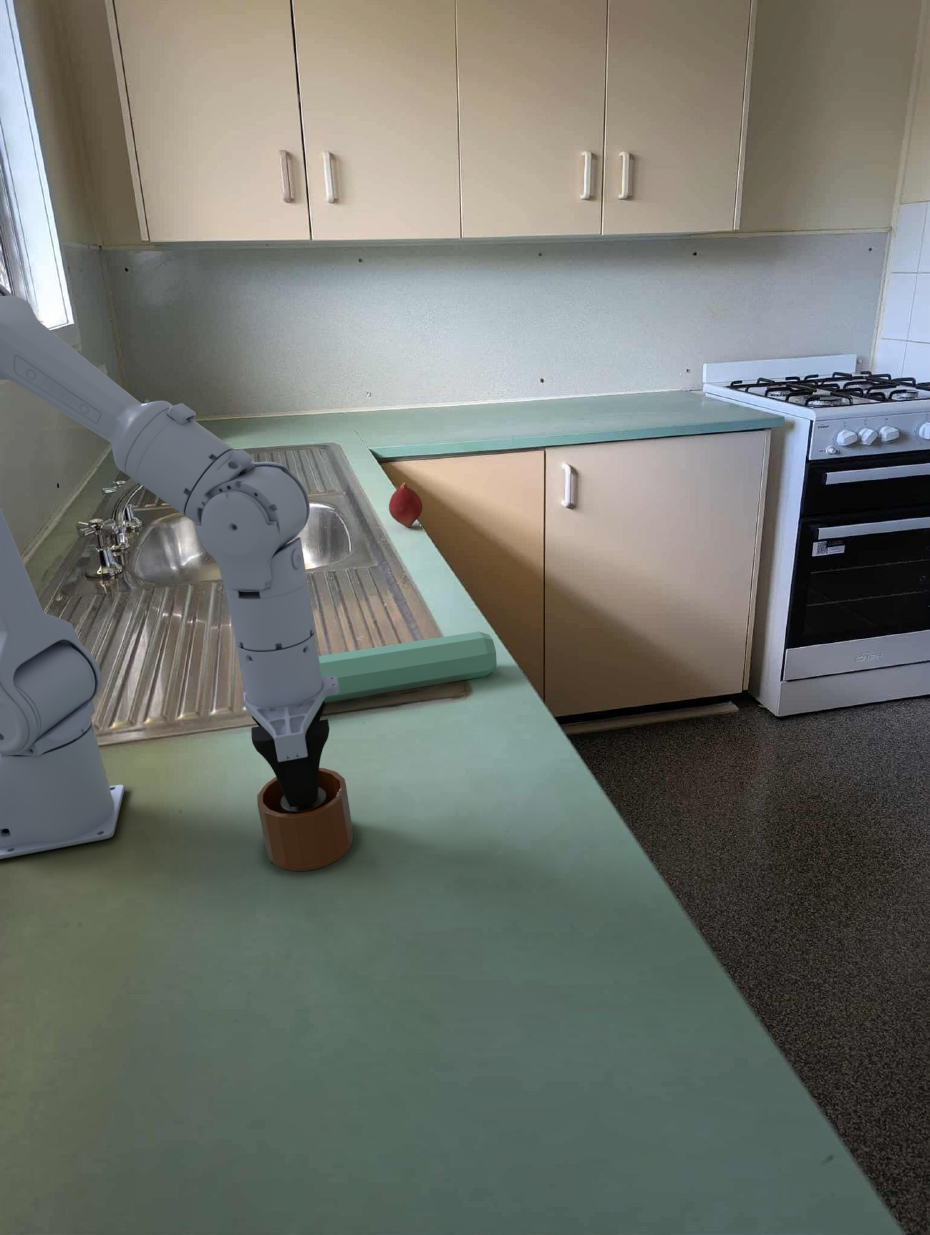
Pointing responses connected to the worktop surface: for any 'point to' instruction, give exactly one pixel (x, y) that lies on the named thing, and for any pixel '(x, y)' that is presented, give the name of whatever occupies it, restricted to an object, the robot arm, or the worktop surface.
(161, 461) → the robot arm
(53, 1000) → the worktop surface
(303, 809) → the brush
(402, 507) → the onion
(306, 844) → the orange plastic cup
